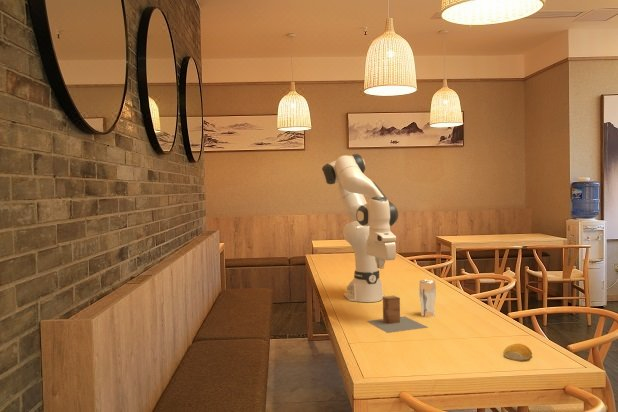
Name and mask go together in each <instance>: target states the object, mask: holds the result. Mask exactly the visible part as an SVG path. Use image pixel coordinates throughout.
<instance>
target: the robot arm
mask: <svg viewBox="0 0 618 412" xmlns="http://www.w3.org/2000/svg"><path fill="white" fill-rule="evenodd" d="M365 171H366V161H365V159H364V158H363V157H362V155H361V154H359V153H356V154H355V153H353V154H351V155H340V156H339V157H338V158H336V160H333V161H331V162H329V163H326V164H325V165H323V166H322V168H321V176H322V179H323V180H324V182H325V183H326V184H328V185H334V184H337V187H338V188H337V189H338V191H339V192H338V193H339V196H340V200H341V202H342V204H343V207H344V209H345V212H346V214H347V215H348V217H350V218H352V219H354V220H353V221H350V222H348V223H346V224H345V225H344V227H343V229H342V233H343V234H342V235H343V238H344V240H345V241H346V242H347V243H349V245H350V246H351V248H352V250H353V253H354V259H355V261H354V262H355V263H354V264H355V270H354V273H353V279H352V280H351V281H350V282H349V283H348V285H347V286H346V289H347V292H344V293H343V296H344V297H345V298H346V299H348V301H349V302H360V303H375V302H376V303H377V302H379V301H383V297H384V296H386V295H384V292H383V283H382V280H380V275H381V273H380V270H384V269H385V263H386V261H395V259H396V257H397V244H396V242H397V236H396V235H395V234H394V233H393V232H392V231H391V227H392V226H393V225H395V223H396V222H397V220H398V219H399V211H398V209H397V207H396V205H394V204H393V202H391V201H390V200H389V199H388V198H387V196H386V195H385V194H384V193H383V191H382V190H381V188H380V187H379V186H378V184H376V182H375V181H374V180H372V179H370V178H368V177H367V176H366V175H365V174H364V173H365ZM365 196H366V197H368V198H369V200H368V202H367V200H366V197H365ZM379 269H380V270H379Z"/></svg>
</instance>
